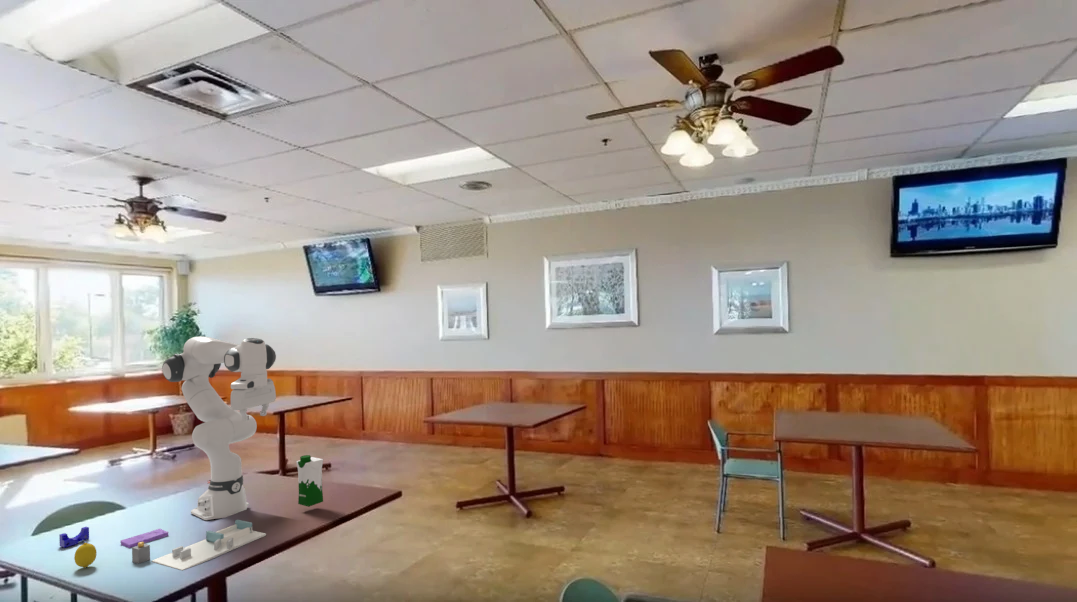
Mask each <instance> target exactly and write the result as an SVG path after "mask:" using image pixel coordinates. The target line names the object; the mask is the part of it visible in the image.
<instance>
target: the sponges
mask: <svg viewBox="0 0 1077 602" xmlns="http://www.w3.org/2000/svg"><path fill="white" fill-rule="evenodd" d="M168 536H169V531H167V530H164V529H162V528H157V529H154V530H153V529H152V530H151V531H148V532H143V533H140V534H137V535H134V536H131V537H129V538H128V537H127V538H125V539H121V540H120V546H124V547H126V548H128V549H130V548H131V549H132V547H135V546H138V543H139V542H144V544H147V543H150V542H152V541H156V540H159V539H163V538H165V537H168Z"/></svg>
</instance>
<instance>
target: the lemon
mask: <svg viewBox="0 0 1077 602" xmlns="http://www.w3.org/2000/svg"><path fill="white" fill-rule="evenodd" d="M73 559H74V563H75V564H76V565H77V567H80V568H81V567H82V568H84V569H86V568H85V567H87V568H88V567H90V566H91V565H92V564H93V563H94V562H95V561H96V559H97V548H96V547H95V545H94V544H92V543H87V542H83V544H82V545H79V546H78V547H77V548H76V550H75V552H74V558H73Z"/></svg>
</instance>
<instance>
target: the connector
mask: <svg viewBox="0 0 1077 602" xmlns="http://www.w3.org/2000/svg"><path fill="white" fill-rule="evenodd" d="M131 558H132V559H131V560H132V561H131V563H134V562H135V564H138V565H139V563H140V564H142V563H145V562H147V561H151V546H150V544H147V543H144V542H139V543H138V545H137V546H134V547H131Z"/></svg>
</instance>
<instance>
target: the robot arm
mask: <svg viewBox="0 0 1077 602" xmlns="http://www.w3.org/2000/svg"><path fill="white" fill-rule="evenodd" d="M276 360H277V354H276V351H275V349H274V348H273V347H272V346H270V345H269V344H267V343H265V341H264V340H263V339H262V338H254V337H251V338H250V337H249V338H244V339H243V340H242V341H241V342H240V343H239V344H238V343H234V342H230V341H225V340H222V339H217V338H214V337H209V336H193V337H190V338H189V339H187V340H186V342H185V343H184V345H183V352H182V353H179V354H177V353H175V354H173V356H171V357H169V358H166V360H165V361H164V362H163V363H162V368H161V369H162V373H163V374H162V375H163V376H164V378H165V379H166V381H168V382H170V383H178V382H181V381H184V382H183V383H182V385H181V391H182V395H183V397H184V399H185V402H186V403H187V405H188V406H189V407H190V409H191V410H192V412H193V413H194V415H195V416H196V418H197V419H198V420H200V421H201V422H202V423H200V424H198V425H196V426H195V427H194V429H193V431H192V434H191V439H192V443H193V444H194V445H195V447H197V448H198V449H200V450H201V451H203V453H205V454H206V456H207V458H208V461H209V465H210V479H209V480H208V481H207V484H208V489H206V491H204V492H203V493H202V494H201V495H200V496H198V499H197V507H195V508H193V509H191V510H190V514H192V515H194V516H196V517H197V518H200V519H202V520H203V521H210V520H214V519H215V520H216V519H225V518H229V517H230V516H233V515H235V514H238V513H242V512H243V511H246V510H247V509H248V507H249V506H250V505H249V502H247V494H246V489H245V486H243V485H244V477H243V471H242V469H243V468H242V465H243V464H242V458H241V456H240V455H239V454H238V453H235V452H233V451H231V449H230V445H231V444H235V443H238V442H242V441H245V440H247V439H249V438H251V437H253V436H254V435H255V433H256V432H257V427H258V426H257V421H256V419H255V418H254V417H253V416H252V415H251V414H248V413H247V412H248V409H251V408H254V407H258V406H261V410H260V411H259V415H260V417H261V416H262V417H265V416H267V413H268V409H269V407H270V403H271V404H272V403H274V402H275V401H276V399H277V394H276V393H277V392H276V387H275V384H274V381H273V380H272V379H271V378H268V371H267V370H270V369H271V367H273V365H274V364H275V362H276ZM222 364H223V365H224V366H225V368H226V369H227V370H228V371H230V372H231V373H232V372H234V373H238V372H240V377H239V378H238V379H237V380H235V381H232V382H231V384H230V389H231V390H232V391H231V392H230V406H229V404H227V403H226V402H225V401H224V400H223V399H222V397H221V396H220V395H219V394H218V392H217V391H216V389H215V388H214V387H213V386H212V385H211V383H210V381H209V380H210V379H212V378H214V377H215V376H216V374H217V373H218V371H219V370H220V368H221V366H222Z"/></svg>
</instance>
